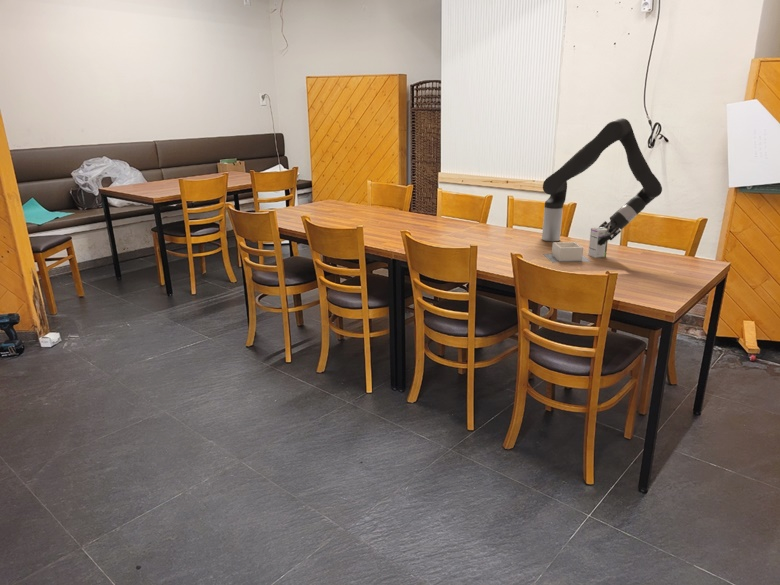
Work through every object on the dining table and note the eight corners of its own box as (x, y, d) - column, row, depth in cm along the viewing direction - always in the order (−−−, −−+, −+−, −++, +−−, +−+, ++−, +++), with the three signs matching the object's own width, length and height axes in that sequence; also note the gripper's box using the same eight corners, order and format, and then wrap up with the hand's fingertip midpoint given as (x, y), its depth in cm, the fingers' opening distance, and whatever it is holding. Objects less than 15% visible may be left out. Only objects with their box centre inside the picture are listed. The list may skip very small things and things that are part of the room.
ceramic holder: (551, 254, 256) (552, 242, 254) (573, 254, 257) (574, 241, 255) (559, 261, 246) (560, 248, 244) (582, 260, 247) (583, 247, 245)
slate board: (542, 257, 258) (542, 254, 258) (579, 256, 259) (580, 253, 259) (552, 265, 245) (552, 262, 245) (591, 264, 246) (591, 261, 245)
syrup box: (595, 261, 251) (598, 230, 246) (587, 257, 257) (590, 227, 252) (605, 260, 253) (609, 229, 248) (597, 256, 258) (601, 226, 253)
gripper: (611, 208, 254) (584, 232, 258) (625, 214, 241) (596, 240, 244) (621, 219, 256) (594, 243, 260) (635, 225, 243) (606, 251, 246)
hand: (595, 242), depth 252 cm, fingers open, 7 cm apart
